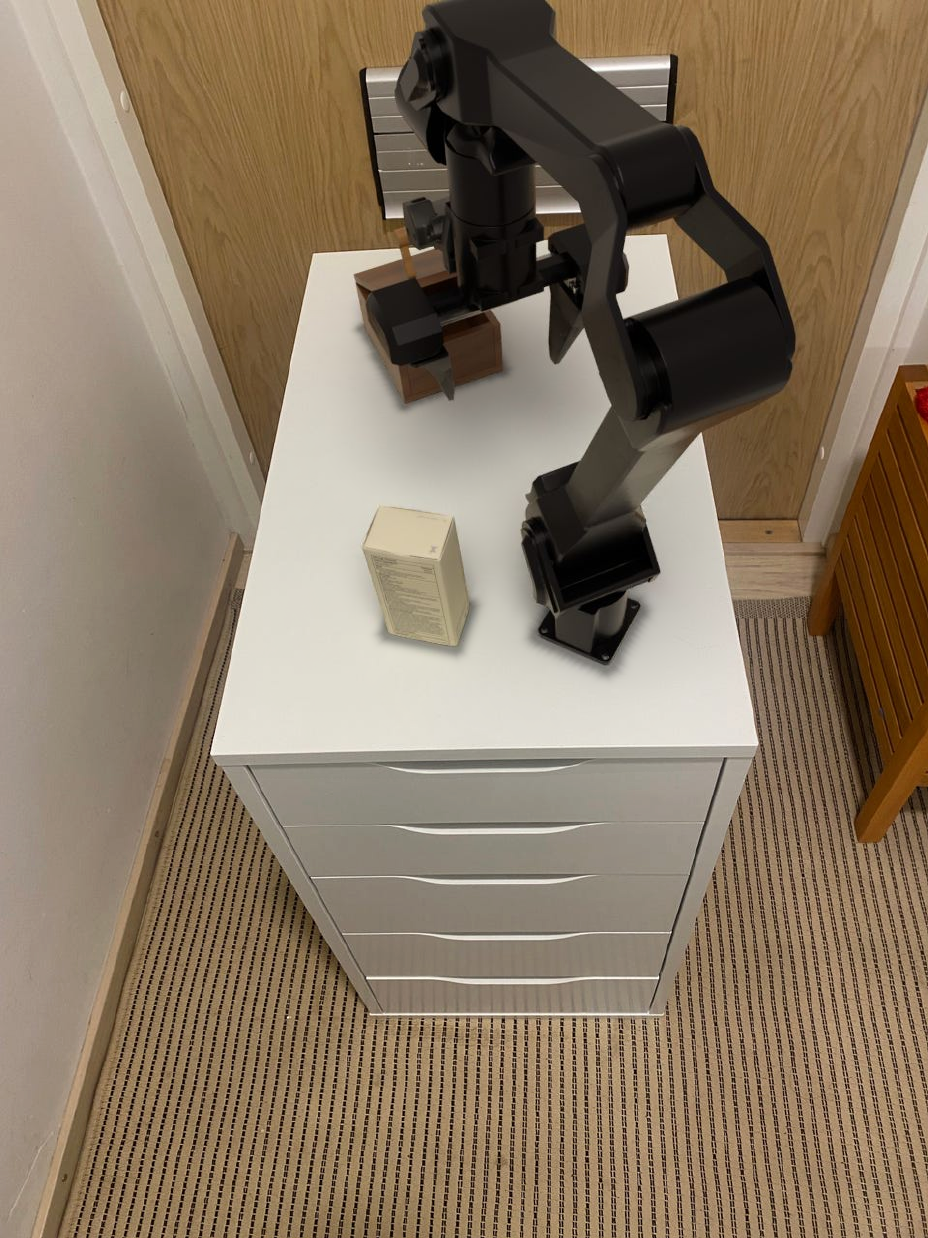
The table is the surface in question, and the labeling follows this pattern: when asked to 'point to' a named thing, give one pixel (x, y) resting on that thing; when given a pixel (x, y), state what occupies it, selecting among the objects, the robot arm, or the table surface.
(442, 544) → the cosmetic box
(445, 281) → the wooden box
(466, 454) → the table surface
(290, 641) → the table surface
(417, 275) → the lid
